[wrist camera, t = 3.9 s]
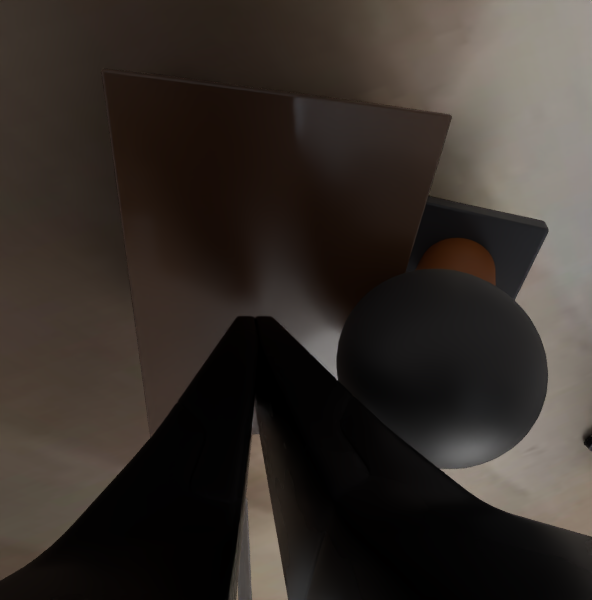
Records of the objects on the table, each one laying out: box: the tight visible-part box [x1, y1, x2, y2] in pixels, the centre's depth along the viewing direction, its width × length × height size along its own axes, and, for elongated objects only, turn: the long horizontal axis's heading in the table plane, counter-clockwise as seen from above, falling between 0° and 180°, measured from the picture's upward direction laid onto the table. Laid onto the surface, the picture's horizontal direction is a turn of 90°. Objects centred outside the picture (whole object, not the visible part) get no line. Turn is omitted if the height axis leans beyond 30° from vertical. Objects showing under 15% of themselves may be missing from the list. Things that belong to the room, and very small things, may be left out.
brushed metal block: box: [101, 69, 452, 438], centre depth 12 cm, size 7×10×5 cm
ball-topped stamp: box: [336, 196, 548, 469], centre depth 11 cm, size 8×4×10 cm, turn 83°
